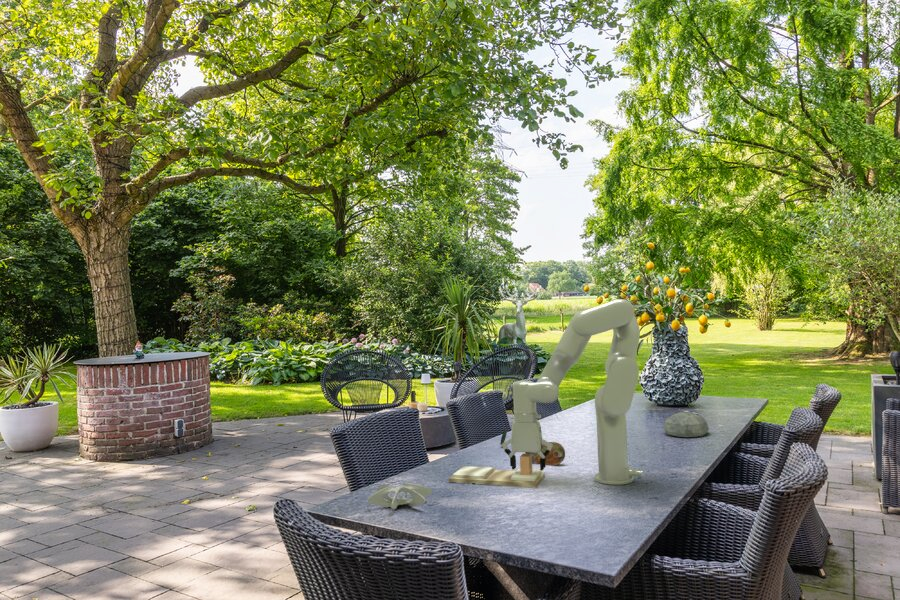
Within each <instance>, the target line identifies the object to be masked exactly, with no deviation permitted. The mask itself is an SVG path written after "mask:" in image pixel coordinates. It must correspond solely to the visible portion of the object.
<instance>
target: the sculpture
mask: <svg viewBox="0 0 900 600" xmlns="http://www.w3.org/2000/svg"><path fill="white" fill-rule="evenodd" d="M389 493H390V494H391V493H394V496H393V498H392V496H391V495H390V494H389ZM399 493H403V495H402V497H400V498H398V495H399ZM407 493H408V494H409V495H410V496H411V497H410V498H409V497H408V498H407V497H406V496H407ZM432 493H433V490H432V489H431V488H430V487H428V486H425V485H421V484H416V483H411V482H406V481H405V482H403V485H402V486H395V487H393V484H391V483H390V484H386V485H381V486H379V487H378V488H376V491H375V492H374V493H373V494H371V495H370V496H368V497H367V502H368V503H370V504H371V505H375V506H378V507H384V508H388V507H391V508H390V509H392V510H397V509H398V508H397V507H398V506H400V505H407V504H408V507H409V506H411V507H417V506H421V505H424V504H425V503H426V498H427V497H429V496H430V495H432Z"/></svg>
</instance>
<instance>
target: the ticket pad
mask: <svg viewBox="0 0 900 600" xmlns="http://www.w3.org/2000/svg"><path fill="white" fill-rule="evenodd" d="M516 471H517V470H510V469H509V470H506V469H505V470H504V469H496V467H491V466H489V467H488V466H487V467H485V466H468V465H467V466H466V465H464V466H461V468H459V469H458V470H457V471H456V472H454V473H453V474H452V476H449V478H448V483H449V482H460V483H459V484H463V483H477V484H476V485H480V484H489V485H488V486H498V485H502V486H501V487H515V486H516V487H517V488H518V486H519V488H532V487H534V488H535V489H536V488H538V487H539V485H540V484H541V483H542V481H543V480H544V479H545V477H546V476H545V475H546V472H544V471H542V472H541V474H540V475H539V476H538V478H537V479H536V480H535V481H516V480H511V477H512V476H513V474H514V473H515V472H516ZM540 482H541V483H540ZM516 487H515V488H516ZM534 488H533V489H534Z"/></svg>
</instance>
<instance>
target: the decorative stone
mask: <svg viewBox="0 0 900 600" xmlns="http://www.w3.org/2000/svg"><path fill="white" fill-rule="evenodd" d="M708 425H709V424H708V422H707V420H706V418H704V417H702V416H701V415H699V413H698V412H697V411H696V412H694V411H693V412H690V411H689V410H684V411H683V412H677V413H674V414H672V415H670V416H669V417H667V418H666V420H665V421H664V424H663V430H664V432H665V434H666V435H668V436H674V437H677V438H678V437H679V438H697V437H698V436H699V437H702V436H705V435H706V434H708V432H709V429H710V428H709V426H708Z"/></svg>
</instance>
